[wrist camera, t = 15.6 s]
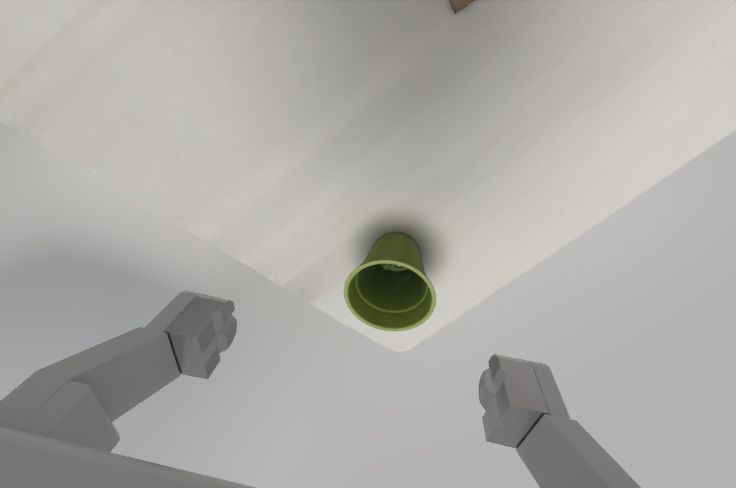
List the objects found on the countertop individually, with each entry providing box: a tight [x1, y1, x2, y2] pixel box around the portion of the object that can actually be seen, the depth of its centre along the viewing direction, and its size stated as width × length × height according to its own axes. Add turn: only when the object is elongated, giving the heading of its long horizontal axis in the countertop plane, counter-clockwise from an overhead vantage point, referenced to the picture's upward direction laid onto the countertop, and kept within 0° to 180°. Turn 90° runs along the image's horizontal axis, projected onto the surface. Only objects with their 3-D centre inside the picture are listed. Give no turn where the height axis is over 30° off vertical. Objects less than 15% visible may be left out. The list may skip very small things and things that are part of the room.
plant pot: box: [344, 233, 436, 331], centre depth 45 cm, size 12×12×11 cm
